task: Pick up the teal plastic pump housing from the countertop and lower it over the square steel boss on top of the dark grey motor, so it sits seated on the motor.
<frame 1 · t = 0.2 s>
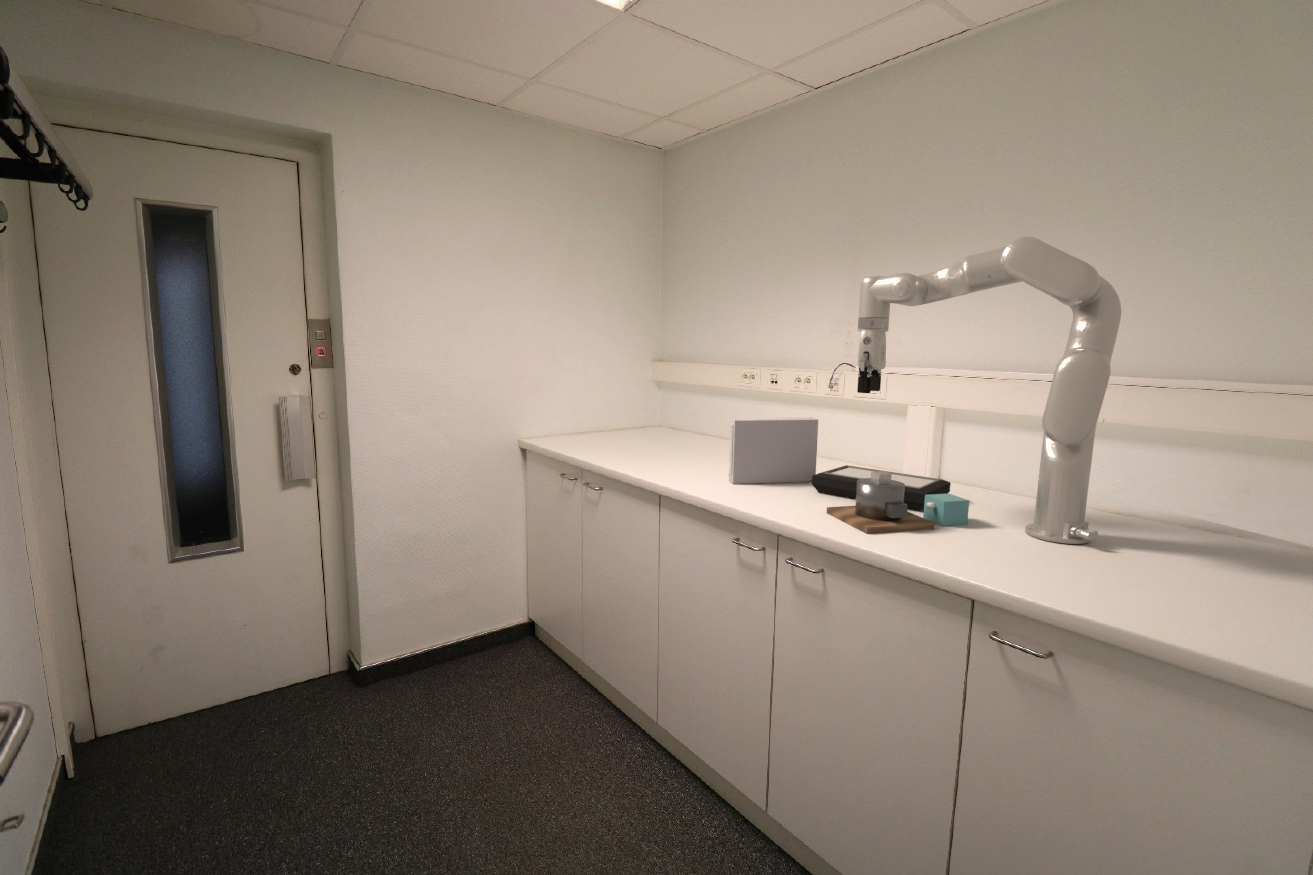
hand: (868, 391, 162), 31 cm above the worktop, tool pointing down, fingers open, 9 cm apart
pump housing: (944, 521, 152), on the worktop
electronic device: (878, 498, 176), on the worktop
mounting board: (878, 520, 152), on the worktop
motor: (882, 495, 150), on the mounting board, point 7 cm above the worktop
upright gray panel box: (771, 481, 195), on the worktop
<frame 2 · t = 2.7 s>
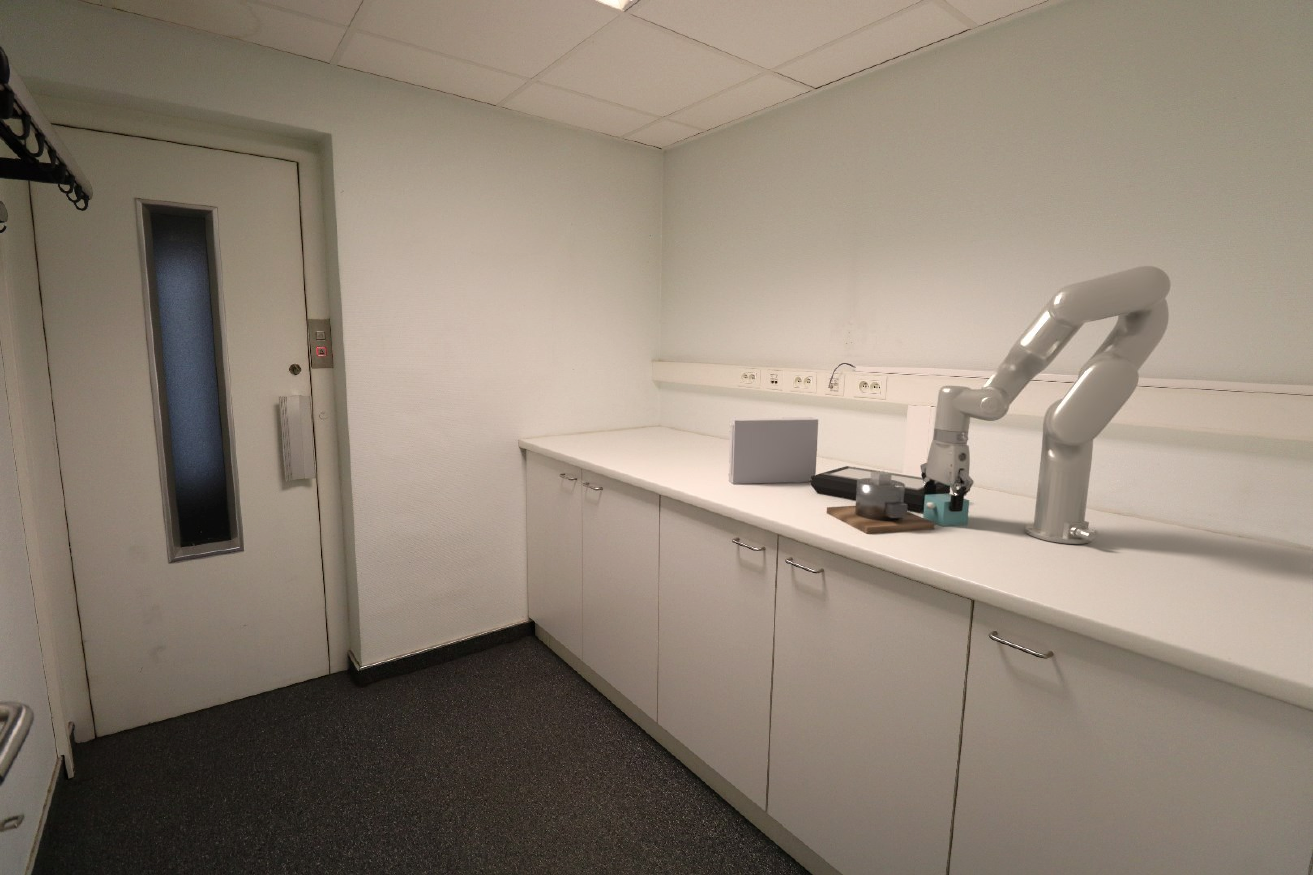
hand: (941, 505, 152), 4 cm above the worktop, tool pointing down, fingers open, 9 cm apart
electronic device: (878, 499, 176), on the worktop, touching gripper
everything else where it was.
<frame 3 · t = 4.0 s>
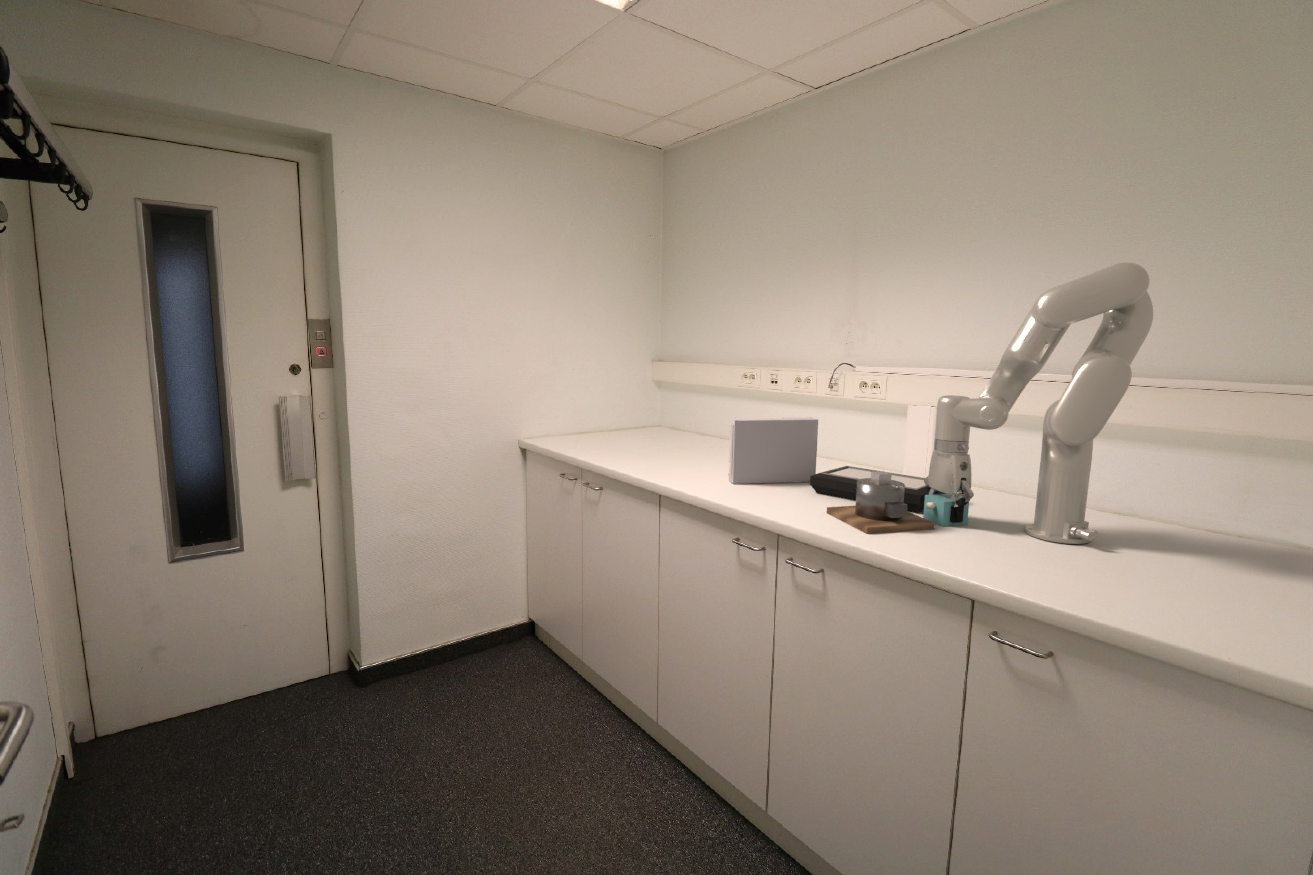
hand: (945, 517, 152), 1 cm above the worktop, tool pointing down, fingers closed on pump housing, 7 cm apart
pump housing: (944, 521, 152), on the worktop, touching gripper
electronic device: (877, 499, 175), on the worktop
everything else where it was.
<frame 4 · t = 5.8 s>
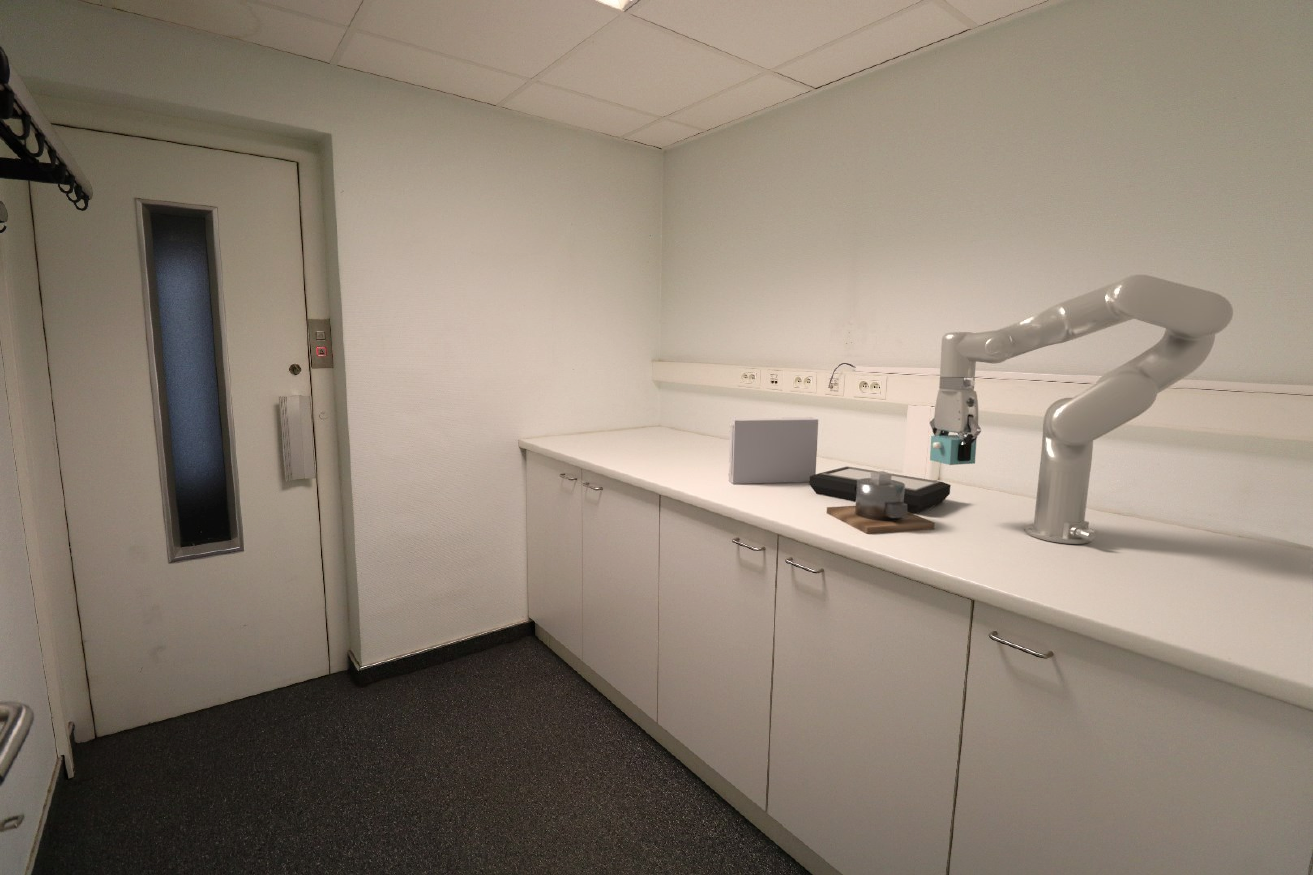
hand: (952, 457, 149), 16 cm above the worktop, tool pointing down, fingers closed on pump housing, 7 cm apart
pump housing: (952, 461, 149), point 15 cm above the worktop, touching gripper
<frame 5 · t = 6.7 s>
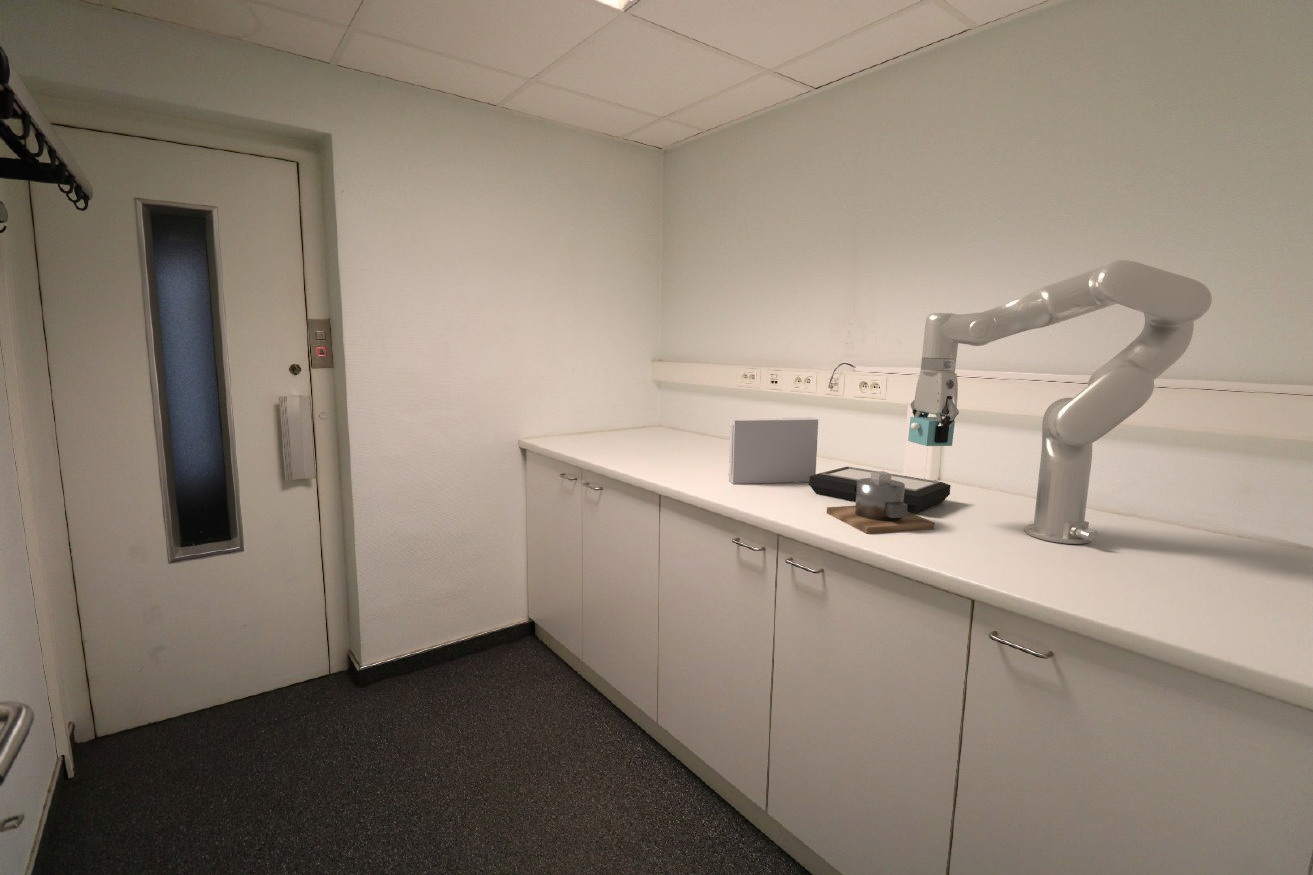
hand: (930, 439, 149), 20 cm above the worktop, tool pointing down, fingers closed on pump housing, 7 cm apart
pump housing: (929, 443, 149), point 19 cm above the worktop, touching gripper
when the fingers open (11 cm above the worktop, at t = 9.9 s): pump housing stays where it is, resting on motor.
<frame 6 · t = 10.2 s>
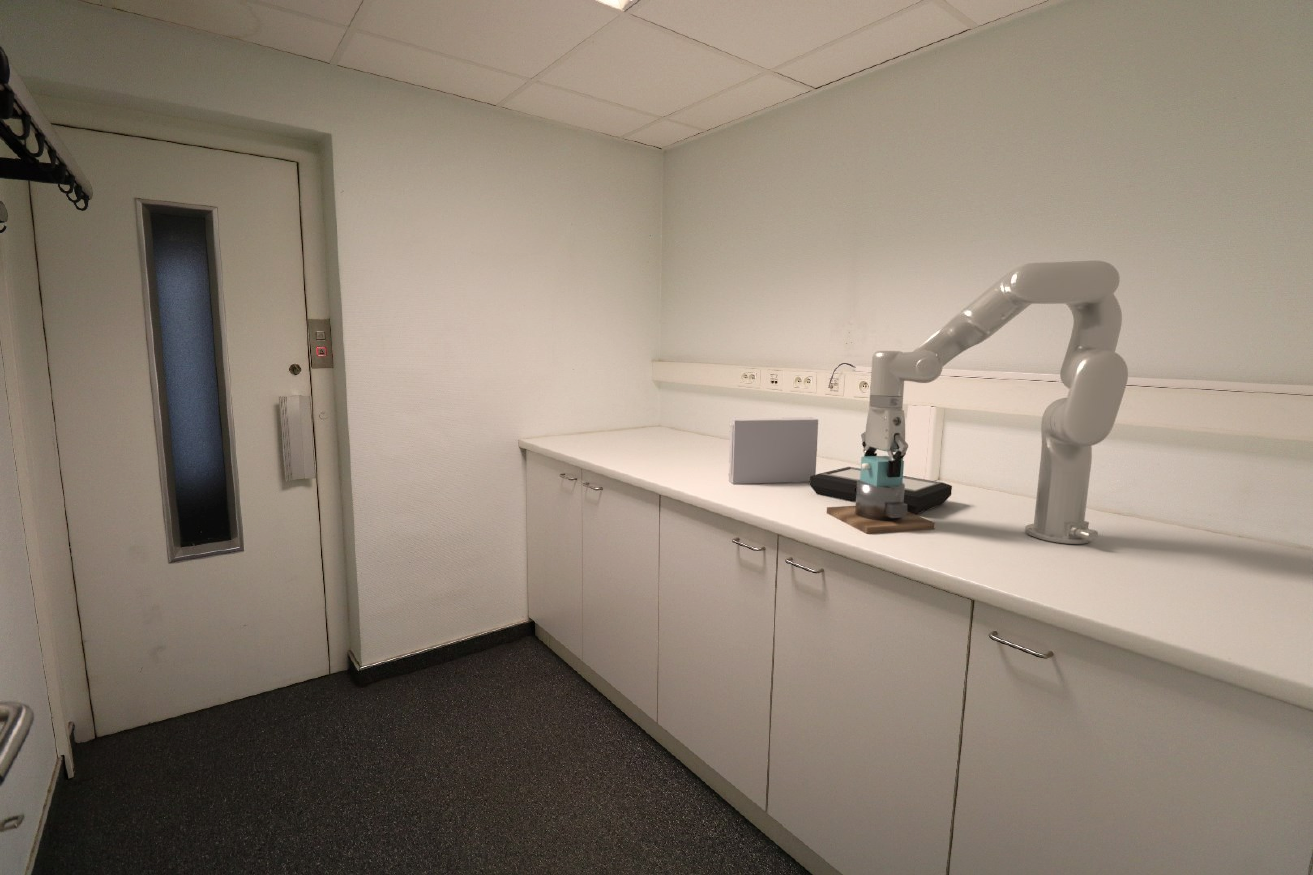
hand: (881, 472, 150), 12 cm above the worktop, tool pointing down, fingers open, 9 cm apart
pump housing: (880, 482, 150), point 9 cm above the worktop, touching motor
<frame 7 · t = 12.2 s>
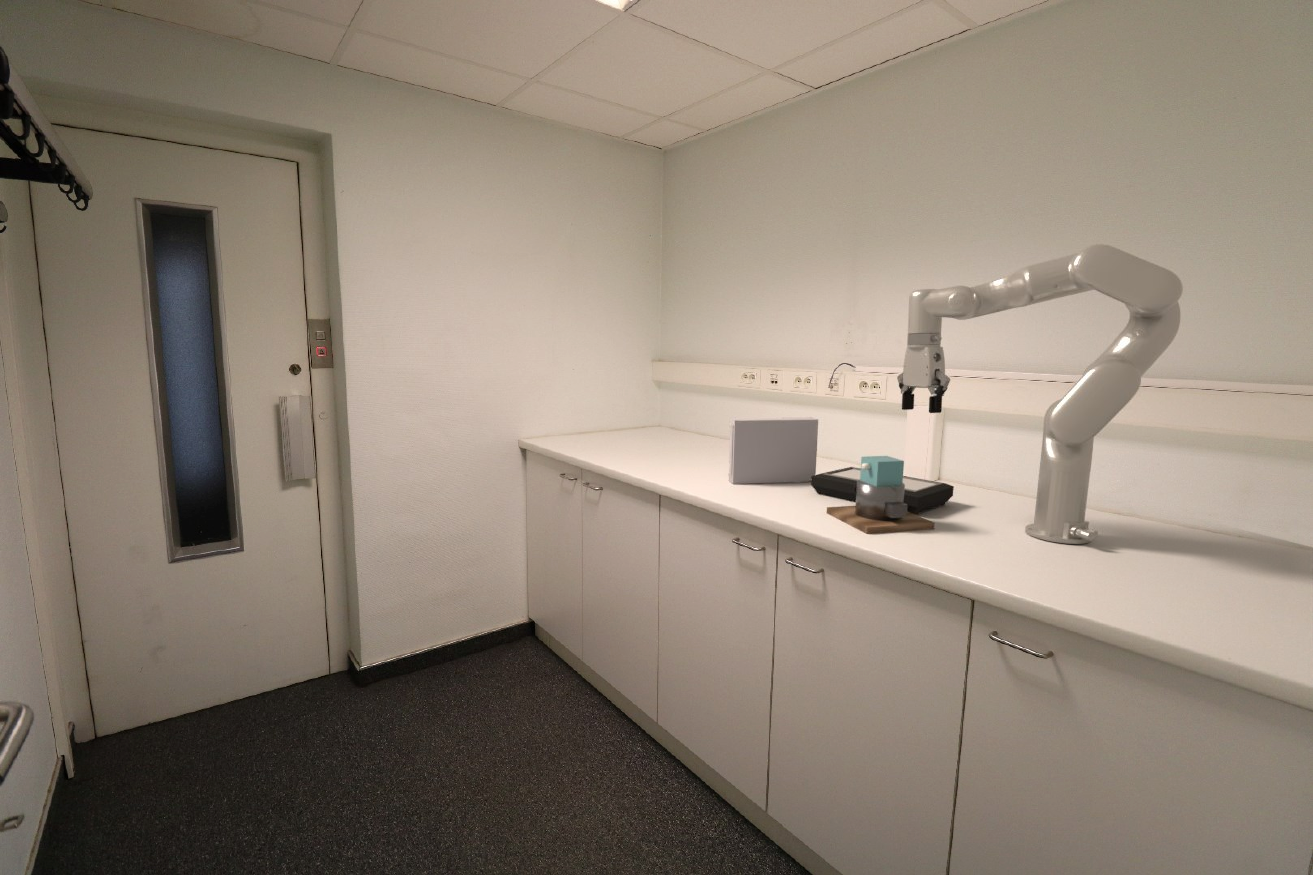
hand: (920, 411, 153), 27 cm above the worktop, tool pointing down, fingers open, 9 cm apart
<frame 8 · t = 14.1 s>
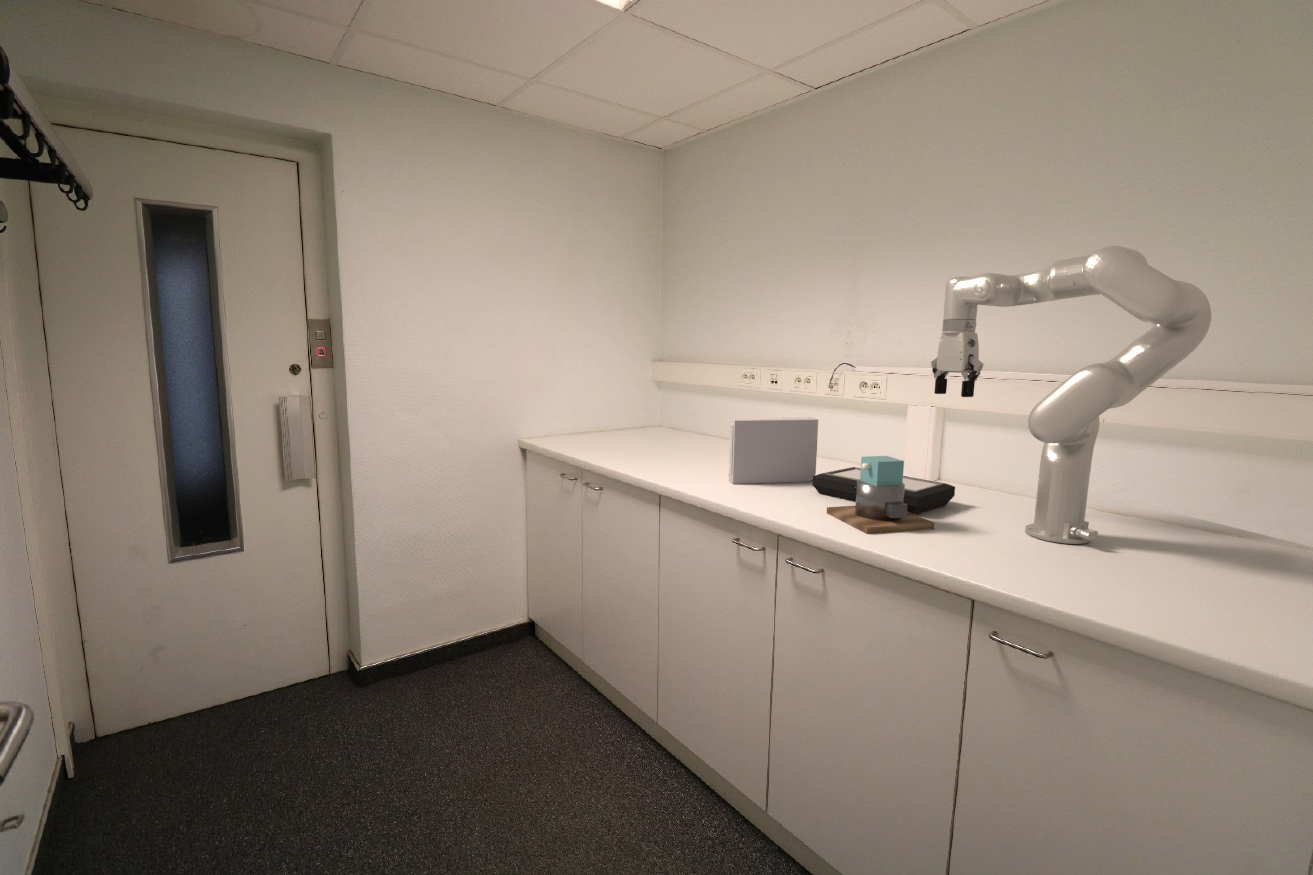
hand: (953, 395, 158), 30 cm above the worktop, tool pointing down, fingers open, 9 cm apart
at the end: pump housing 0.0 cm off-centre on the motor, point 9.5 cm above the motor's base; pump housing tilted 0°; the gripper is holding nothing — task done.
